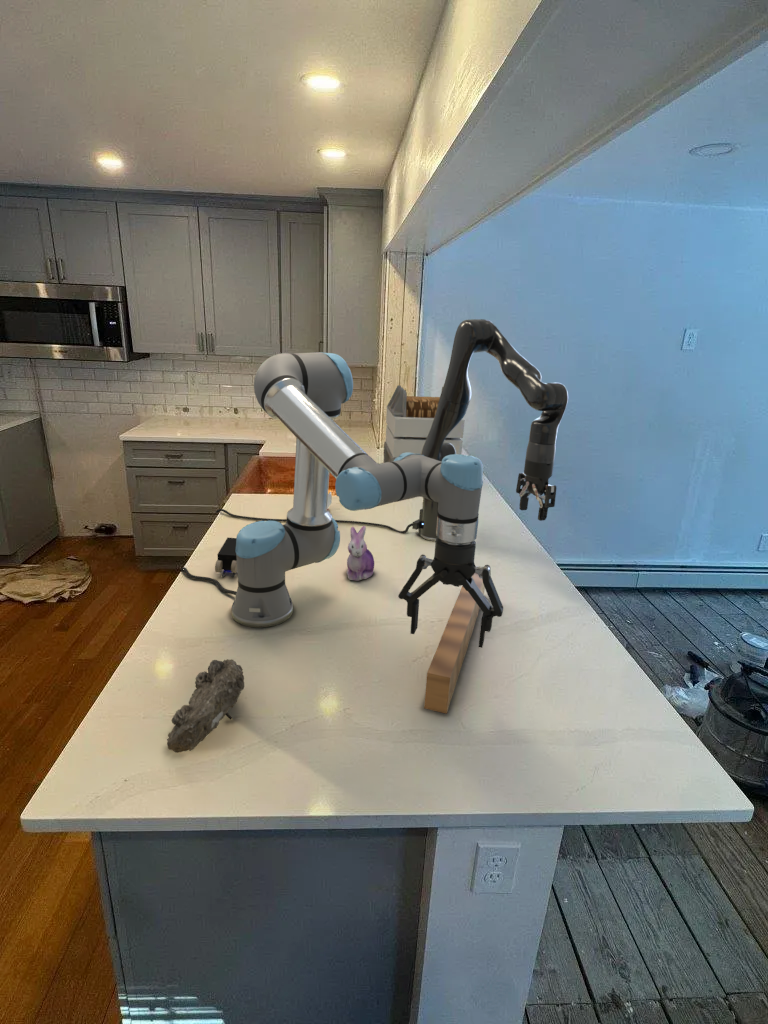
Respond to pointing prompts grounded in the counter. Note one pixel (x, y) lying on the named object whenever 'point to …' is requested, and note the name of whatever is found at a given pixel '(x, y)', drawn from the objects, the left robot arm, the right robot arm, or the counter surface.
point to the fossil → (206, 705)
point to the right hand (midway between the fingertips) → (532, 514)
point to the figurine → (359, 557)
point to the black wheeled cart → (227, 558)
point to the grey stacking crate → (413, 425)
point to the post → (451, 651)
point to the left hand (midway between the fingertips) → (447, 637)
